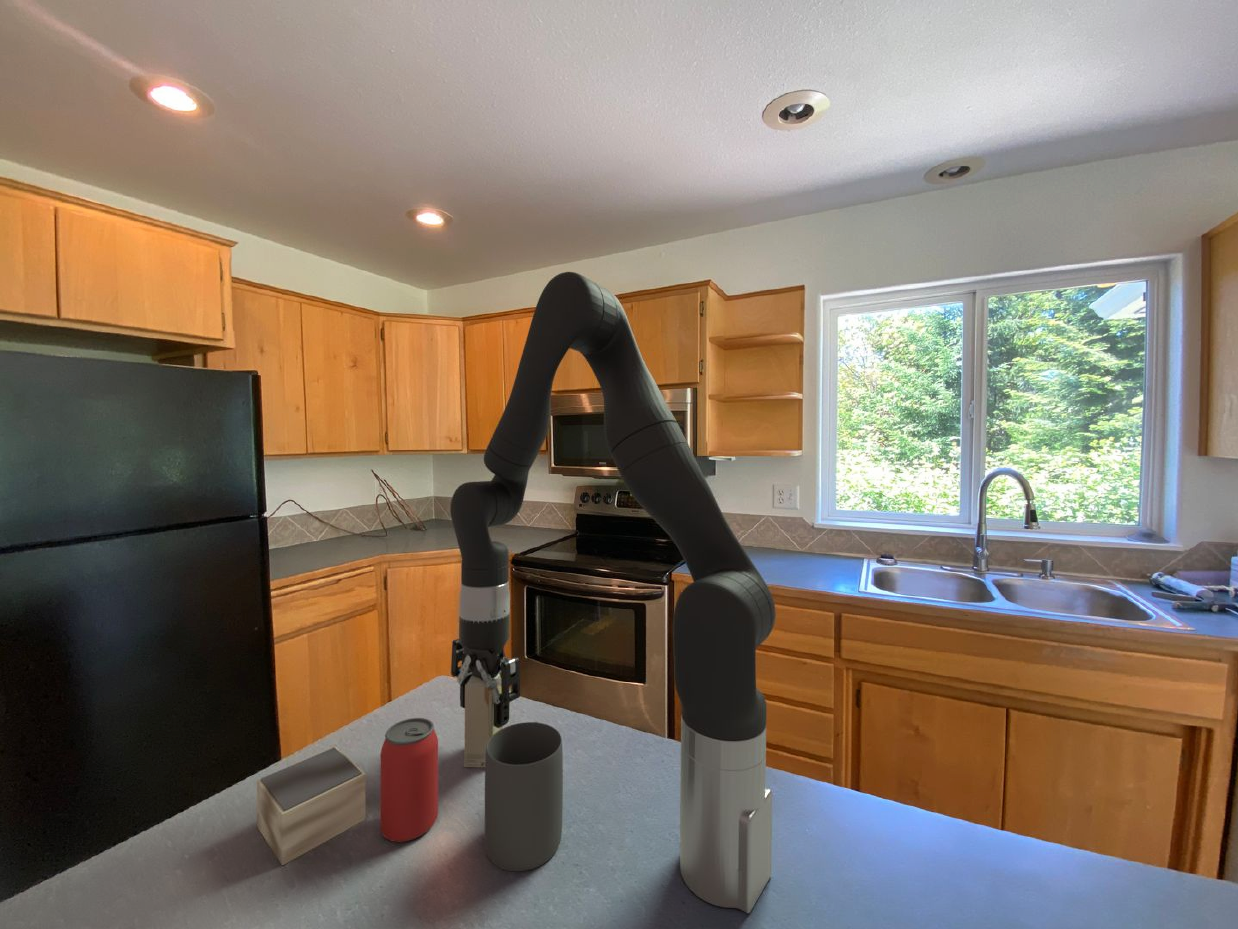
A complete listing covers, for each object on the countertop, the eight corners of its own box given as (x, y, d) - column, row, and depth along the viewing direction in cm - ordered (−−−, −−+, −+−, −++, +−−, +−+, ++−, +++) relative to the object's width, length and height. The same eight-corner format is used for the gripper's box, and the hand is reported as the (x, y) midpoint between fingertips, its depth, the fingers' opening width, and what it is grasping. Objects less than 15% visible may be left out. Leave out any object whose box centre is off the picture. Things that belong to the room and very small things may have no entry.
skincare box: (492, 769, 71) (492, 686, 71) (463, 768, 72) (463, 686, 71) (503, 743, 78) (503, 667, 78) (476, 743, 78) (476, 667, 78)
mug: (556, 874, 54) (557, 767, 53) (474, 873, 54) (474, 765, 53) (570, 790, 67) (570, 704, 67) (504, 789, 67) (504, 703, 67)
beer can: (417, 850, 57) (417, 748, 57) (367, 840, 58) (368, 741, 58) (448, 810, 63) (448, 718, 63) (403, 802, 64) (403, 712, 64)
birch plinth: (365, 819, 61) (365, 772, 61) (282, 865, 54) (282, 812, 54) (335, 788, 67) (335, 745, 67) (257, 827, 60) (257, 779, 60)
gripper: (534, 615, 73) (532, 721, 73) (477, 596, 82) (476, 691, 82) (493, 628, 67) (491, 744, 67) (437, 606, 76) (436, 709, 76)
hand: (483, 715), depth 75 cm, fingers open, 8 cm apart
